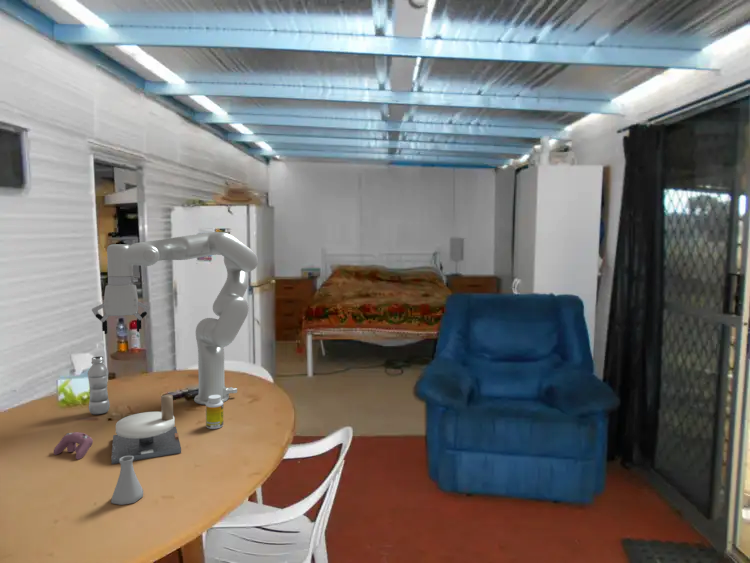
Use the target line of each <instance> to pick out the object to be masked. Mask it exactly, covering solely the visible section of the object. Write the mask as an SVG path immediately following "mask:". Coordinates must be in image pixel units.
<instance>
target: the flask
mask: <svg viewBox="0 0 750 563" xmlns="http://www.w3.org/2000/svg"><path fill="white" fill-rule="evenodd" d="M133 459H134V456H123V457H121V458H120V459H119V463H118V464H120V471H119V474H118V479H117V482H116V485H115V488H114V491H113V494H112V495H111V501H110V503H111V504H114V505H120V506H121V505H128V504H129V505H130V504H134V503H136V502H137V501H139V500H140V499H141V498H143V497H144V488H143V487H142V485H141V483H140V481H139V479H138V476H137V475H136V472H135V470H134V469H135V468H134V465H133V464H134V463H133V462H134V461H133Z"/></svg>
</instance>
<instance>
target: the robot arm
mask: <svg viewBox="0 0 750 563" xmlns="http://www.w3.org/2000/svg"><path fill="white" fill-rule="evenodd" d="M106 255H107V256H106V259H107V285H105V290H104V298H103V300H104V301H103V303H100V304H99V305H96V306H95V307H93V308H92V309H91V312H92V314H94V316H95V318H96V319H97V320H99V321H100V322H101V331H102V332H104V334H105V335H107V334H108V320H107V319H108V318H109V317H120V316H134V317H135V318H136V332H137V333H140V330H142V320H143V319H144V318H145V317H146V316H147V314H148V313H149V312H150V309H151V307H150V305H148V304H145V303H142V302H141V301H139V296H138V294H139V293H138V288H137V285H136V284H135V283H136V282H137V283H138V282H139V279H138V278H139V277H134V266H142V267H151V266H154V265H155V264H157V263H158V262H160V261H186V260H193V259H198V258H203V257H209V256H216V255H218V256H222V257H223V262H224V265H225V269H226V272H227V274H226V275H227V276H226V280H225V282H224V284H223V286H222V287H221V289H220V291H219V293H218V294H217V297H216V298H215V300H214V302H213V303H212V311H213V314H215V315H216V316H218V317H219V318H218V319H217V318H213V317H207V318H206V317H205V318H203V319H202V320H200V321H199V322H198V323H197V324H196V327H195V339H196V340H195V341H196V344H197V346H196V347H197V356H198V357H197V358H198V359H197V364H198V365H197V366H198V372H197V373H198V394H197V395H195V396H194V399H193V400H194V402H195V403H196V404H199V405H206V403H207V402H208V397H209V396H211V395H220V396H221V401H222V402H223V403H224V402H227V401H228V400H229V398H230V394H237V393H238V388H237V387H233V386H230V387H226V385H225V348H224V347H228V346H230V345H231V344H232V343H233V341H234V340H235V339H236V337H237V335H238V333H239V331H240V330H241V328H242V326H243V325H244V323H245V320H246V319H247V316H248V314H249V304H248V301H247V299H245V298H244V295H245V293H246V291H247V289H248V286H249V272H253V271H254V270H255V269H256V268H257V266H258V263H259V259H258V255H257V254H256V253H255V251H253V250H252V248H250V247H248V246H247V245H246V244H244V243H243V242H241V241H240V240H239V239H238V238H236V237H235V236H233V235H232V234H230V233H227V232H224V231H223V232H222V231H210V232H202V233H198V234H190V235H182V236H177V237H176V236H175V237H169V238H164V239H155V240H148V241H142V242H141V241H140V242H135V243H132V244H121V243H119V244H116V243H114V244H110V245H108V246H107V248H106ZM139 307H140V308H141V309H144V310H143V311H142V313H141V314H140V313H139ZM102 309H103V311H104V314H103V316H102V315H101V313H99V310H102Z"/></svg>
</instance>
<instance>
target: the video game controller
mask: <svg viewBox="0 0 750 563" xmlns="http://www.w3.org/2000/svg"><path fill="white" fill-rule="evenodd" d="M93 442H94V440H93V438H92V437H91V436H90V435H88V434H87V433H84V432H81V431H78V432H77V431H74V432H68V433H66V434H65V435H64V436H63V437H62V438H61V439H60V441H59V442H58V443H57V445H55V447H54V448H53V455H55V456H58V455H60V454H61V453H62V452H63V451H64V450H66V451H67V452H68V453H74V452H75V453H76V454H75V459H77V460H81V459H82V458H83V457H84V456H86V455H87V453H88V451H89V450H90V448H91V447H92V445H93ZM77 444H78V445H77Z"/></svg>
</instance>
